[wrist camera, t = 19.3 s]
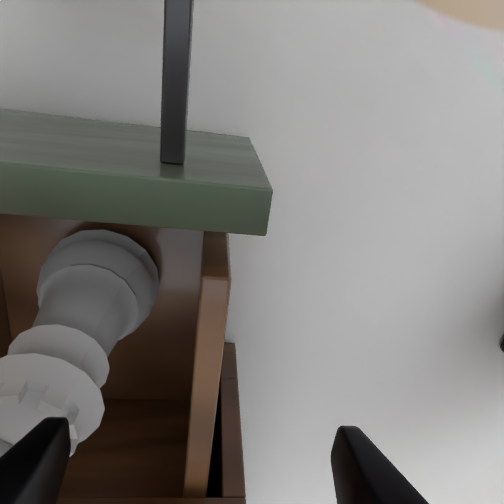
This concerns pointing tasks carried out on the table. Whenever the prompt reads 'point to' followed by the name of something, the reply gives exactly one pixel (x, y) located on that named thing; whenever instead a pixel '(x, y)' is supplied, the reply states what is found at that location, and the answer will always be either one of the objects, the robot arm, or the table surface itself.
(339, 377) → the table surface
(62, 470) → the robot arm
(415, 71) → the table surface
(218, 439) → the cabinet
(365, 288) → the table surface
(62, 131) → the drawer
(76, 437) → the rook chess piece
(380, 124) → the table surface
